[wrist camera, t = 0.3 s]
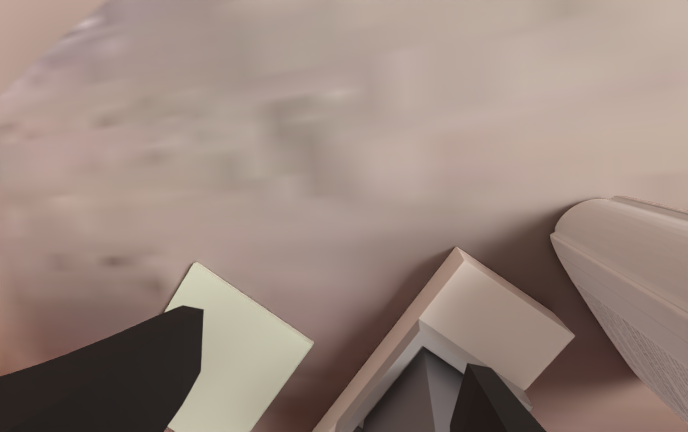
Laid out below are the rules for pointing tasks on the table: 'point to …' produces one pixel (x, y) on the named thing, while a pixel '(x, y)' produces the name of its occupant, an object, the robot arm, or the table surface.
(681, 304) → the photo printer
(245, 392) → the sage mat
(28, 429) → the robot arm
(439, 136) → the table surface
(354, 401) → the white block grey frame
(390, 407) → the charger
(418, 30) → the table surface
